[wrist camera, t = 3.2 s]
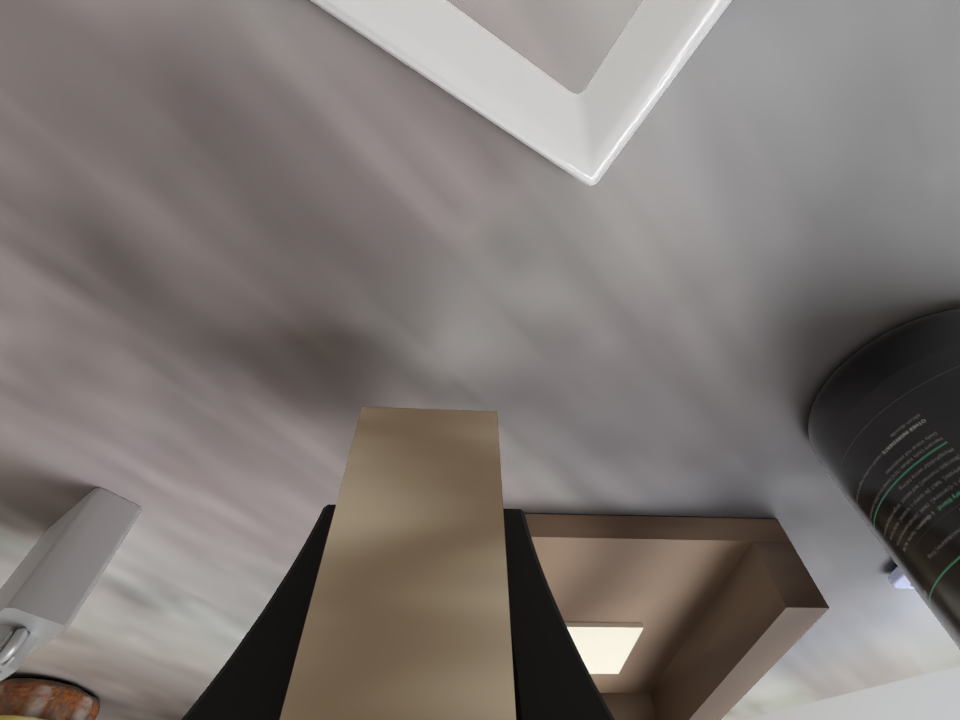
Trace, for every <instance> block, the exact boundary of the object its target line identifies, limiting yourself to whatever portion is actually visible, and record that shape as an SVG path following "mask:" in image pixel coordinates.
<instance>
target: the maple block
mask: <svg viewBox="0 0 960 720" xmlns="http://www.w3.org/2000/svg"><path fill="white" fill-rule="evenodd" d="M280 720H516V708H515V692H514V676H513V659H512V643H511V627H510V611H509V595H508V579H507V563H506V547H505V530H504V514H503V498H502V482H501V466H500V450H499V434H498V418H497V411H469V410H440V409H410V408H381V407H362V408H361V412H360V416H359V420H358V424H357V427H356V431H355V435H354V439H353V443H352V446H351V450H350V454H349V458H348V462H347V465H346V469H345V473H344V477H343V481H342V484H341V488H340V492H339V496H338V500H337V503H336V507H335V511H334V515H333V519H332V522H331V526H330V530H329V534H328V538H327V541H326V545H325V549H324V553H323V557H322V560H321V564H320V568H319V572H318V576H317V579H316V583H315V587H314V591H313V595H312V598H311V602H310V606H309V610H308V614H307V617H306V621H305V625H304V629H303V633H302V636H301V640H300V644H299V648H298V652H297V655H296V659H295V663H294V667H293V671H292V674H291V678H290V682H289V686H288V689H287V693H286V697H285V701H284V705H283V708H282V712H281V716H280Z"/></svg>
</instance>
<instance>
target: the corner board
mask: <svg viewBox="0 0 960 720" xmlns="http://www.w3.org/2000/svg"><path fill="white" fill-rule="evenodd" d="M525 517H526V521H527V525H528V528H529V532H530V535H531V538H532V541H533V544H534V547H535V550H536V553H537V556H538V559H539V562H540V564H541V567H542V570H543V572H544V575H545V578H546V580H547V583H548V585H549V588H550V590H551V592H552V595H553V597H554V599H555V602H556V604H557V606H558V609H559V611H560V613H561V616H562V618H563V620H564V622H565V624H566V627H567V629H568V631H569V633H570V635H571V637H572V639H573V641H574V643H575V645H576V648H577V650H578V652H579V654H580V656H581V658H582V660H583V662H584V664H585V666H586V668H587V670H588V672H589V674H590V675H591V677H592V679H593V681H594V683H595V685H596V687H597V689H598V691H599V692H600V694H601V696H602V698H603V700H604V701H605V703H606V705H607V707H608V709H609V710H610V712H611V714H612V716H613V717H614V719H615V720H721V719H722V718H723V717H724V716H725V715H726V714H727V713H728V712H729V711H730V709H731V708H732V707H733V706H734V705H735V704H736V703H737V702H738V701H739V700H740V699H741V698H742V697H743V696H744V695H745V694H746V693H747V692H748V691H749V690H750V689H751V688H752V687H753V686H754V685H755V684H756V683H757V682H758V681H759V680H760V679H761V678H762V677H763V676H764V675H765V674H766V673H767V672H768V670H769V669H770V668H771V667H772V666H773V665H774V664H775V663H776V662H777V661H778V660H779V659H780V658H781V657H782V656H783V655H784V654H785V653H786V652H787V651H788V650H789V649H790V648H791V647H792V646H793V645H794V644H795V643H796V642H797V641H798V640H799V639H800V638H801V637H802V636H803V635H804V634H805V633H806V632H807V630H808V629H809V628H810V627H811V626H812V625H813V624H814V623H815V622H816V621H817V620H818V619H819V618H820V617H821V616H822V615H823V614H824V613H825V612H826V611H827V610H828V609H829V607H828V605H827V603H826V602H825V600H824V598H823V596H822V595H821V593H820V591H819V590H818V588H817V586H816V584H815V583H814V581H813V579H812V578H811V576H810V574H809V572H808V571H807V569H806V567H805V566H804V564H803V562H802V560H801V559H800V557H799V555H798V554H797V552H796V550H795V549H794V547H793V545H792V543H791V542H790V540H789V538H788V537H787V535H786V533H785V531H784V530H783V528H782V526H781V525H780V523H779V521H778V519H748V518H701V517H653V516H606V515H559V514H525Z"/></svg>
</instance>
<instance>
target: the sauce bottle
mask: <svg viewBox="0 0 960 720" xmlns="http://www.w3.org/2000/svg"><path fill="white" fill-rule="evenodd" d="M99 709H100V704H99V700H98V699H97V698H95V697H93V696H91V695H89V694H87V693H86V692H84V691H82V690H81V689H80V688H79V687H76V686H72V685H67V684H65V683H61V682H56V681H53V680H45V679H35V678H13V679H8V680H2V681H0V720H95V719H96V717H97V714H98V712H99Z"/></svg>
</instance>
